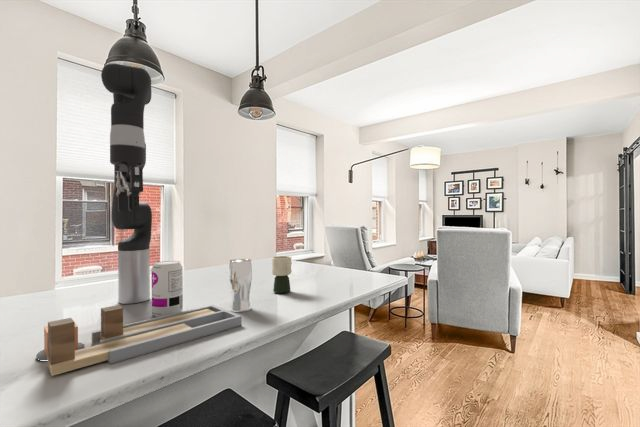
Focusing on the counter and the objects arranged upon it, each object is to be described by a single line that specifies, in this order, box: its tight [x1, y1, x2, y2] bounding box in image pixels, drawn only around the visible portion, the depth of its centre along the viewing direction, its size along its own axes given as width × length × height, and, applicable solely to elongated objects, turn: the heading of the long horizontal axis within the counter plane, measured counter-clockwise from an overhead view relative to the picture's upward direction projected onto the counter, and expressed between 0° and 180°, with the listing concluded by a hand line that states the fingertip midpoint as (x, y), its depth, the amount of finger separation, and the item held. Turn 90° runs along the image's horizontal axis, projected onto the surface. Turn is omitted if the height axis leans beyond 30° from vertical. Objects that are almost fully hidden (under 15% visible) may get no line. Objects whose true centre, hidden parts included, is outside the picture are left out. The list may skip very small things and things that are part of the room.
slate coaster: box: [35, 342, 86, 360], centre depth 69 cm, size 8×8×1 cm
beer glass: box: [228, 258, 253, 313], centre depth 99 cm, size 7×7×15 cm
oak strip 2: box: [100, 304, 214, 340], centre depth 81 cm, size 6×26×8 cm, turn 136°
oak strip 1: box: [47, 317, 191, 377], centre depth 69 cm, size 6×26×9 cm, turn 136°
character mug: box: [271, 255, 293, 294], centre depth 120 cm, size 11×7×13 cm, turn 39°
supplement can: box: [151, 260, 184, 318], centre depth 95 cm, size 8×8×15 cm
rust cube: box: [43, 323, 79, 358], centre depth 69 cm, size 5×5×5 cm
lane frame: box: [91, 304, 243, 365], centre depth 79 cm, size 15×30×2 cm, turn 136°
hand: (128, 210), depth 81 cm, fingers open, 8 cm apart
